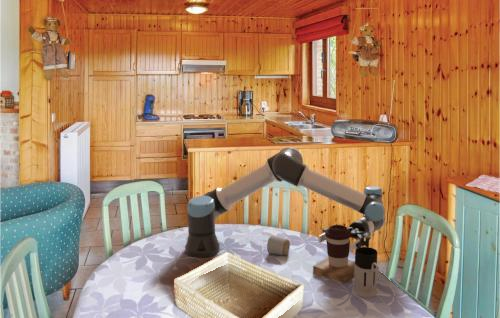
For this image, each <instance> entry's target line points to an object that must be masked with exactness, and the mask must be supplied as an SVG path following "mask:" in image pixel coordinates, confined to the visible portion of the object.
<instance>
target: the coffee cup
mask: <svg viewBox="0 0 500 318" xmlns="http://www.w3.org/2000/svg"><path fill="white" fill-rule="evenodd" d="M328 228H329V229H327V228H326V229H327V230H326V231H325V236H326V237H327V239H326V240H325V241H326V251H327V258H328V259H329V264H330V265H331V266H332V267H336V268H343V267H346V266H347V265H348V260H349V256H350V244H351V231H350V230H349V229H347V228H348V226H346V225H343V224H332V225H330V226H329V227H328Z"/></svg>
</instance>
